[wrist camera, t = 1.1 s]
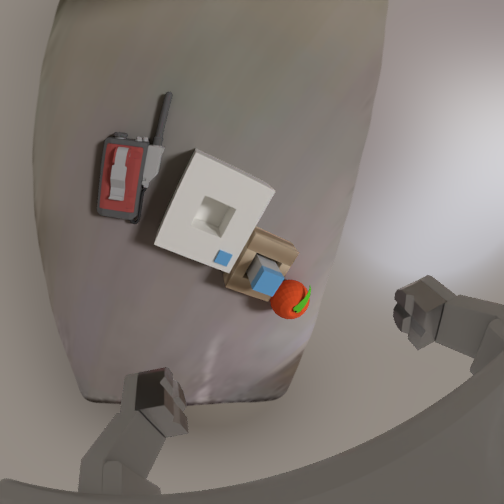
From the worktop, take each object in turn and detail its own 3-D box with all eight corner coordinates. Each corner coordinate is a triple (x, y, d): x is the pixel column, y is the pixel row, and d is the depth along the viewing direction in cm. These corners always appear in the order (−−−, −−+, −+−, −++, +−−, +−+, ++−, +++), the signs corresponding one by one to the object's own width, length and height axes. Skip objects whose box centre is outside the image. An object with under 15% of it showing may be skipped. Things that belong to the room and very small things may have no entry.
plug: (254, 248, 47) (264, 270, 41) (272, 256, 48) (284, 278, 42) (244, 266, 48) (252, 289, 42) (262, 273, 49) (272, 296, 43)
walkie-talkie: (151, 223, 43) (177, 93, 35) (148, 234, 39) (176, 90, 31) (99, 214, 40) (119, 86, 33) (91, 225, 37) (111, 83, 29)
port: (195, 148, 39) (196, 152, 34) (266, 182, 43) (276, 191, 39) (157, 230, 43) (153, 245, 39) (225, 257, 48) (229, 274, 43)
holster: (250, 223, 46) (255, 233, 42) (291, 242, 49) (299, 253, 45) (222, 274, 49) (225, 287, 46) (262, 288, 52) (267, 301, 49)
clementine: (288, 261, 51) (302, 283, 44) (312, 280, 54) (327, 302, 47) (258, 292, 52) (267, 317, 46) (283, 309, 55) (295, 333, 49)
